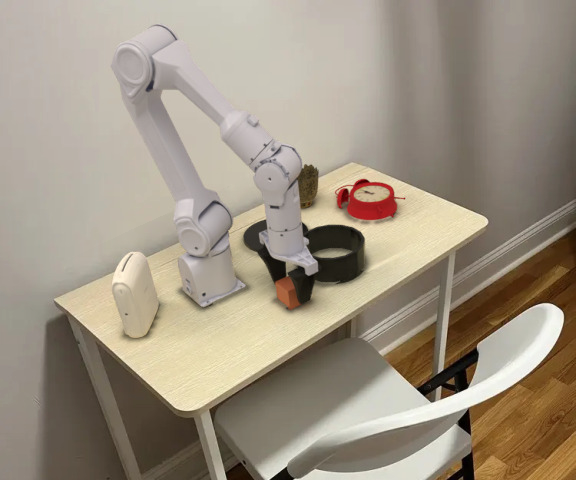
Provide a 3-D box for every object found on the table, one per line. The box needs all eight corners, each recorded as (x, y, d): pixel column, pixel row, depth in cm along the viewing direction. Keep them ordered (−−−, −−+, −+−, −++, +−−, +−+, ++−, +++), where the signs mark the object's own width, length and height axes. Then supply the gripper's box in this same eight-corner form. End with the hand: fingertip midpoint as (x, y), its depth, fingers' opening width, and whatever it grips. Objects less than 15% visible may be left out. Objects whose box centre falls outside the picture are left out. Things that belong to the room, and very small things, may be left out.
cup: (322, 197, 149) (319, 162, 144) (320, 214, 144) (317, 178, 138) (288, 198, 150) (284, 164, 145) (285, 215, 145) (281, 180, 139)
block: (290, 310, 119) (288, 291, 117) (277, 300, 122) (274, 281, 119) (308, 301, 121) (306, 282, 118) (295, 291, 123) (293, 273, 121)
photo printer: (147, 339, 117) (129, 278, 109) (123, 338, 118) (103, 278, 110) (162, 303, 125) (147, 244, 116) (140, 303, 125) (123, 245, 117)
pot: (326, 292, 122) (324, 267, 119) (287, 265, 130) (284, 240, 127) (378, 267, 127) (378, 241, 123) (338, 242, 135) (336, 217, 131)
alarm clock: (377, 212, 134) (324, 177, 141) (372, 237, 139) (321, 202, 146) (412, 193, 139) (359, 159, 145) (406, 217, 144) (355, 184, 150)
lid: (267, 263, 131) (264, 242, 128) (231, 238, 140) (228, 217, 137) (321, 238, 136) (320, 217, 133) (284, 215, 145) (282, 194, 142)
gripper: (330, 230, 108) (335, 300, 117) (279, 199, 117) (287, 267, 126) (294, 246, 105) (302, 317, 114) (245, 214, 115) (255, 281, 124)
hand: (292, 292), depth 120 cm, fingers open, 7 cm apart
